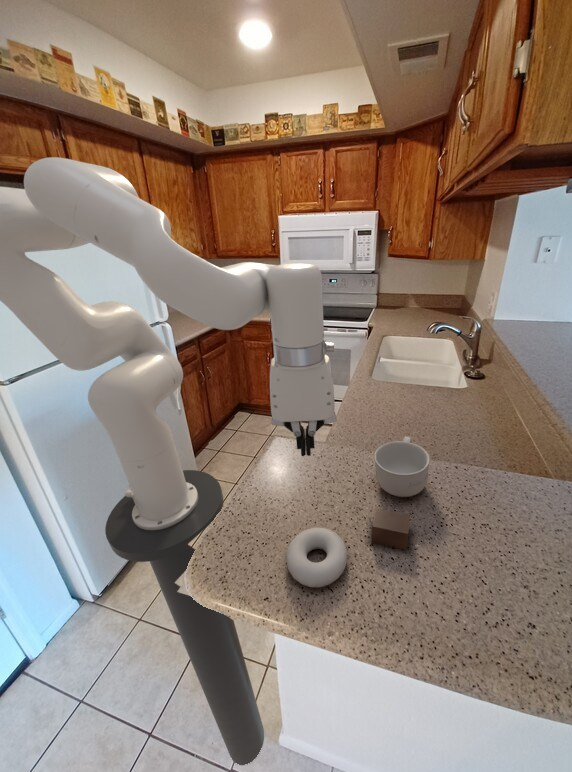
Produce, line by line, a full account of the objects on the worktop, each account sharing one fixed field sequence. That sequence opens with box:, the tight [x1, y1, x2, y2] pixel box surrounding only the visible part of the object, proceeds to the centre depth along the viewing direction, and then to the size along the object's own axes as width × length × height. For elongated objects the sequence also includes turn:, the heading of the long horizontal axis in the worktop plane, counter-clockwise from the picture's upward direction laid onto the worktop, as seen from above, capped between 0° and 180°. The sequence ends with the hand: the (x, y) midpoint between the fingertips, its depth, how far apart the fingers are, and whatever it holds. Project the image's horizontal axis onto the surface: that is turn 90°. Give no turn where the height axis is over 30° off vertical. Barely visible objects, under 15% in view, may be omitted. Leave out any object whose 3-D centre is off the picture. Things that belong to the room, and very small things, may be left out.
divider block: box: [371, 508, 411, 551], centre depth 57 cm, size 6×4×4 cm, turn 73°
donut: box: [285, 527, 348, 588], centre depth 53 cm, size 10×4×10 cm
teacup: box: [373, 436, 431, 498], centre depth 68 cm, size 14×11×8 cm
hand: (306, 450), depth 57 cm, fingers closed
